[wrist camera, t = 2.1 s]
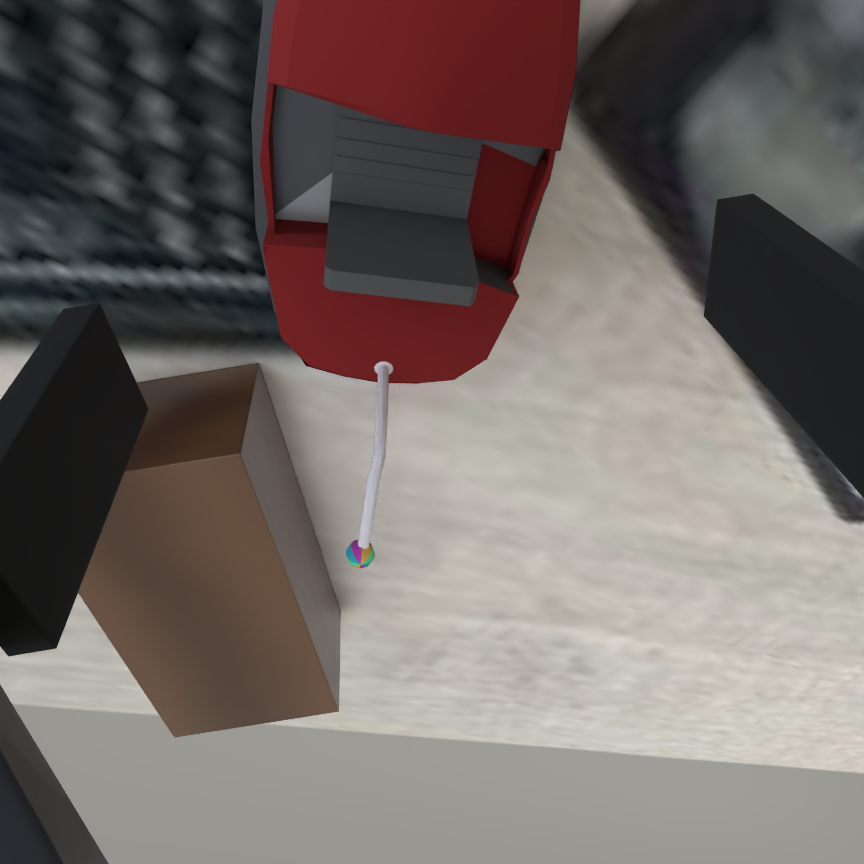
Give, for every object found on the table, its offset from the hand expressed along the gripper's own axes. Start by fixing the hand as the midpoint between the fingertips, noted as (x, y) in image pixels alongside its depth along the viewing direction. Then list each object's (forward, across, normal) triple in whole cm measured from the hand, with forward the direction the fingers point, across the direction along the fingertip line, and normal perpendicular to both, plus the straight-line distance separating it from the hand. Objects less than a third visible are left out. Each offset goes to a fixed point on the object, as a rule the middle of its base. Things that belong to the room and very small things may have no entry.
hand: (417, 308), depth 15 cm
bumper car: (+12, 0, 0) cm, 12 cm away
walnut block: (+12, +11, +15) cm, 22 cm away
